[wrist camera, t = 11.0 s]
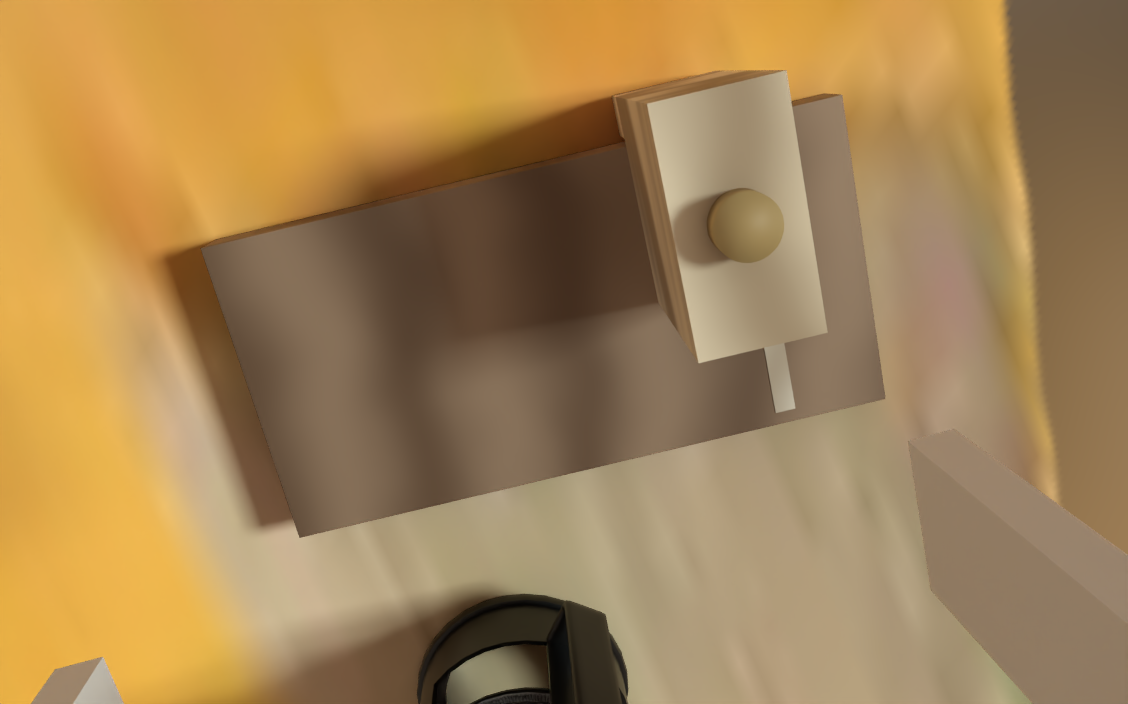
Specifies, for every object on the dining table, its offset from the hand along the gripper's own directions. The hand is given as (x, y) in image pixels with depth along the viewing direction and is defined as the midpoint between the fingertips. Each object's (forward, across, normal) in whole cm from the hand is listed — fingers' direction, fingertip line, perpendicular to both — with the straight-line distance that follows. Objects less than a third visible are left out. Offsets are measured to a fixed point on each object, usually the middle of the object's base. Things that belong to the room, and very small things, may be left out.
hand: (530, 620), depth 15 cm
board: (+24, +2, -1) cm, 24 cm away
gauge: (+24, +8, +2) cm, 25 cm away
